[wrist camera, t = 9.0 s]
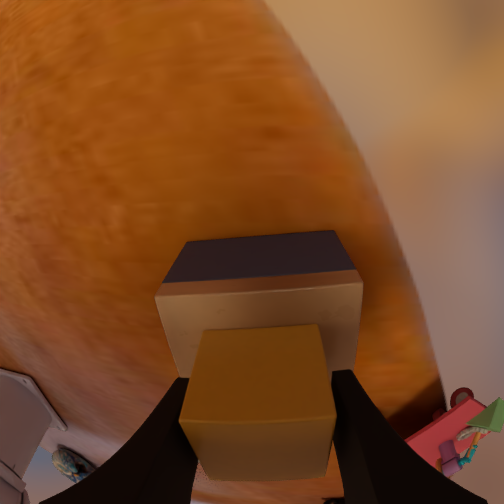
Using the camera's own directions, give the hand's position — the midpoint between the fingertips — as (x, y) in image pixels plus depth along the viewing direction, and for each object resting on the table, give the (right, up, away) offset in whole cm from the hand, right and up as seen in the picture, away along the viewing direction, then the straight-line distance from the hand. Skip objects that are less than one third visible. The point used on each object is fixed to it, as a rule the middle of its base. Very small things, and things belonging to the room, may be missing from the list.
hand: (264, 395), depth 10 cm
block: (0, +1, +1) cm, 1 cm away
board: (0, +1, +2) cm, 2 cm away
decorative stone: (-21, -20, +14) cm, 32 cm away
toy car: (+15, -9, +10) cm, 20 cm away
